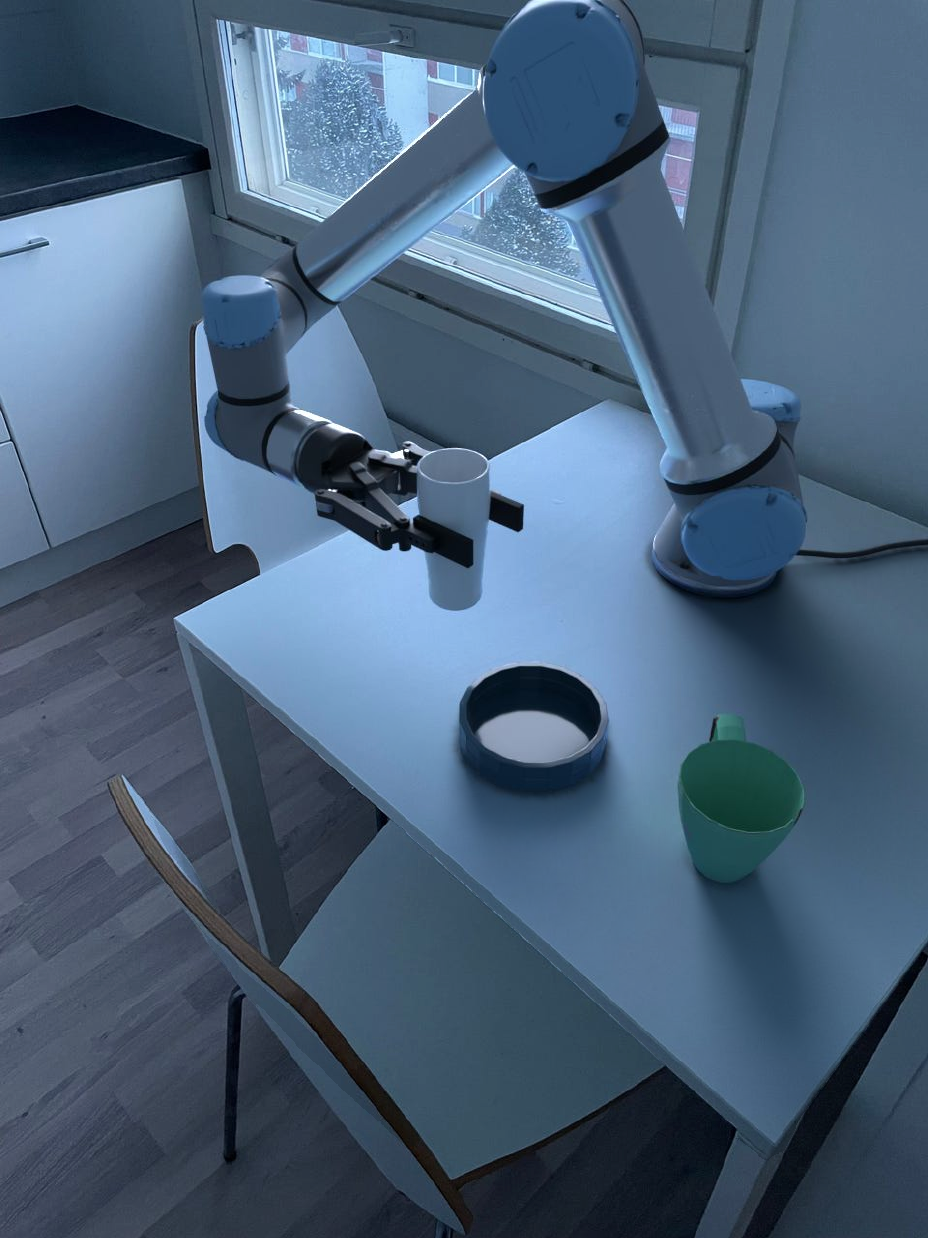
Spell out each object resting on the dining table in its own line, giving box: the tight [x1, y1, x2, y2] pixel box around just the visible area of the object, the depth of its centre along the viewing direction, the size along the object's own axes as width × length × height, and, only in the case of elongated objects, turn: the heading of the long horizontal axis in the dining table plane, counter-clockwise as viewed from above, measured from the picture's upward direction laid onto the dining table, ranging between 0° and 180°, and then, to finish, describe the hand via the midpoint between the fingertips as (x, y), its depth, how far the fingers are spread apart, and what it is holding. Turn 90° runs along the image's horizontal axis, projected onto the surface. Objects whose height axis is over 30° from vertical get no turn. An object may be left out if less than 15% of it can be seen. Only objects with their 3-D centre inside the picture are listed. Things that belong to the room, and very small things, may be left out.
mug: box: [677, 712, 806, 884], centre depth 76 cm, size 15×10×10 cm
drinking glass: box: [416, 447, 492, 612], centre depth 85 cm, size 7×7×15 cm
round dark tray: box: [458, 661, 610, 794], centre depth 88 cm, size 14×14×4 cm
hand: (496, 535), depth 81 cm, fingers closed on drinking glass, 7 cm apart
